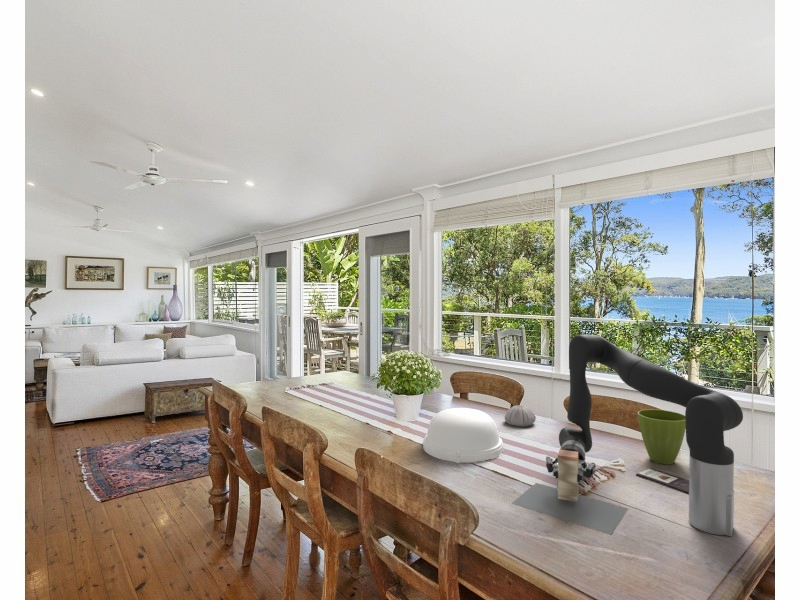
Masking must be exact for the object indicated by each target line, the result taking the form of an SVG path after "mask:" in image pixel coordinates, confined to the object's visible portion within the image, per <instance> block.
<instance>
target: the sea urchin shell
mask: <svg viewBox="0 0 800 600" xmlns="http://www.w3.org/2000/svg"><path fill="white" fill-rule="evenodd" d="M536 419H537V417H536V415H535V413H534V412H533V411H532V410H531V408H529V407H527V406H525V405H522V404H521V405H513V406H511V407H510V408H509V409H508V410H507V411H506V412H505V414H504V421H505V422H506V423H507V424H509V425H512V426H514V427H523V428H524V427H530V426H532V425H533V424H534V423H535V422H536V421H537V420H536Z"/></svg>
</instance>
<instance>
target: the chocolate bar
mask: <svg viewBox="0 0 800 600" xmlns="http://www.w3.org/2000/svg"><path fill="white" fill-rule="evenodd" d="M635 476H636V477H639V478H642V479H644V480H648V481H651V482H653V483H656V484H658V485H662V486H664V487H667V488H670V489H672V490H676V491H679V492H681V493H684V494H687V495H689V479H688V478H687V479H686V478H683V477H681V476H677V475H674V474H671V473H668V472H665V471H662V470H659V469H655V468H651V467H650V468H648V469H645V470H643V471H640V472H638V473H636V474H635Z"/></svg>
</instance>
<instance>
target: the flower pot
mask: <svg viewBox="0 0 800 600" xmlns="http://www.w3.org/2000/svg"><path fill="white" fill-rule="evenodd" d="M637 419H638V424H639V429H640V433H641V438H642V440H643V441H642V442H643V444H644V447H645V449H646V452H647V455H648V458H649V460H650V461H652V462H653V463H657V464H660V465H661V464H662V465H673V464H674V463H675V462H676V459H677V458H678V455H679V453H680V449H681V447H682V444H683V441H684V437H685V435H686V425H685V415H684V414H683V413H680V412H676V411H672V410H665V409H653V408H652V409H641V410H639V411H637Z"/></svg>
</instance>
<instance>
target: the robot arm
mask: <svg viewBox="0 0 800 600" xmlns="http://www.w3.org/2000/svg"><path fill="white" fill-rule="evenodd" d="M568 360H569V361H568V363H569V397H568V399H569V400H568V407H567V420H568V421H569V422H571V423H572V424H574V425H577V426H578V427H579V428H580V429H578V428H573V427H566V426H565V427H563V428H562V429H560V431H559V434H558V442H559V446H560V447H559V450H568V451H576V452H578V473H577V482H578V483H581V481H584V477H586V478H587V479H591V478H592V476H594V474H595V473H596V463H595V462H590V463H587V462H586V453H588V452H590V451H591V449H592V448H593V438H592V434H591V426H590V424H591V423H590V421H591V419H590V417H591V411H592V400H593V399H592V394H591V392H590V388H589V386H588V383H587V379H586V376H587V375H586V372H587V370H586V369H587V366H588V364H590V363H593V364H594V363H595V364H601V365H603V366H606V367H608V368H609V369H610V370H611V369H612V370H613V371H614V372H615V373H616V374H617V375H618V377H619V378H620V380H621V381H622V382H623V383H624V384H626V385H627V386H629V387H630V388H632V389H634V390H635V391H637V392H639V393H641V394H643V395H645V396H647V397H650V398H653V399H657V400H660V401H664V402H668V403H673V404H676V405H679V406H682V407H683V408H685V425H686V429H685V440H686V443H687V444H686V445H687V446H688V449H689V464H688V465H689V467H688V468H689V469H688V471H689V474H688V475H689V477H688V480H689V494H688V522H689V524H690V525H691V526H693V527H694V528H695V529H698V530H700V531H702V532H705V533H708V534H711V535H717V536H727V537H732V536H733V530H734V525H735V524H734V521H735V520H734V519H735V514H734V512H735V490H734V470H735V453H734V451H733V449H732V448H730V447H729V446H727V445H725V440H724V439H725V438H724V437H725V433H724V432H726V431H730V430H733V429H735V428H737V427H738V426H740V425H741V423H742V421H743V419H744V414H743V413H744V412H743V410H742V408H741V406H740V405H739V403H738V402H737V401H736V400H735V399H733V398H732V397H730V396H729V395H727V394H725V393H722V392H720V391H716V390H713V389H711V388H707V387H706V386H703V385H699V384H697V383H694V382H692V381H690V380H688V379H686V378H684V377H683V376H680V375H678V374H676V373H674V372H672V371H670V370H668V369H666V368H664V367H662V366H660V365H658V364H656V363H654V362H652V361H650V360H647V359H645V358H643V357H640V356H639V355H636V354H635V353H632V352H629V351H627V350H624V349H622V348H620V347H619V346H617V345H616V344H614V343H612V342H611V341H609V340H608V339H605V338H604V337H602V336H600V335H597V334H577V335H575V336H574V337H572V338H571V339H570V342H569V347H568ZM545 467H546V469H547V473H552V476H553V477H555V479H557V480H558V456H557V457H556V458H554V459H553V458H551V456H546V457H545Z"/></svg>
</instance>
